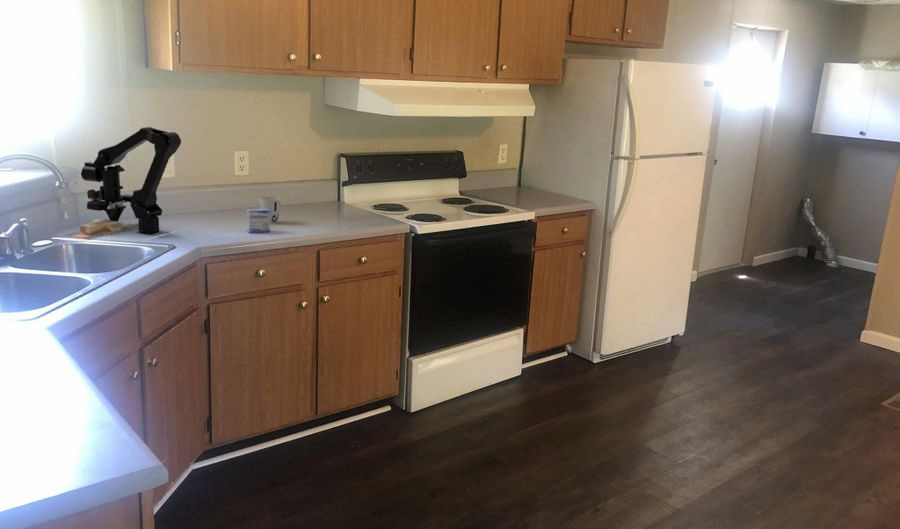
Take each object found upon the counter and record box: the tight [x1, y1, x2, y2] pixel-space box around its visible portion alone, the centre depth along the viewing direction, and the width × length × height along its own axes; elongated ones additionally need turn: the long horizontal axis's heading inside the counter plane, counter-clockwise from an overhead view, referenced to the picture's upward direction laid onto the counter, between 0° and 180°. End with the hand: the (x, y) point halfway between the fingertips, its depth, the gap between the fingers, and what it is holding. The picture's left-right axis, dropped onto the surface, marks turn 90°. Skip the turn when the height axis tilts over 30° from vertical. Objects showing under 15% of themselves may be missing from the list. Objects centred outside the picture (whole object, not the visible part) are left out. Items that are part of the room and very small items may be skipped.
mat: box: [62, 221, 139, 241], centre depth 261 cm, size 12×26×1 cm, turn 161°
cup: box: [259, 196, 281, 225], centre depth 290 cm, size 8×8×10 cm
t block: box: [79, 218, 123, 235], centre depth 258 cm, size 10×12×3 cm
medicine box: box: [245, 208, 271, 234], centre depth 274 cm, size 8×4×9 cm, turn 117°
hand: (114, 225), depth 265 cm, fingers closed
